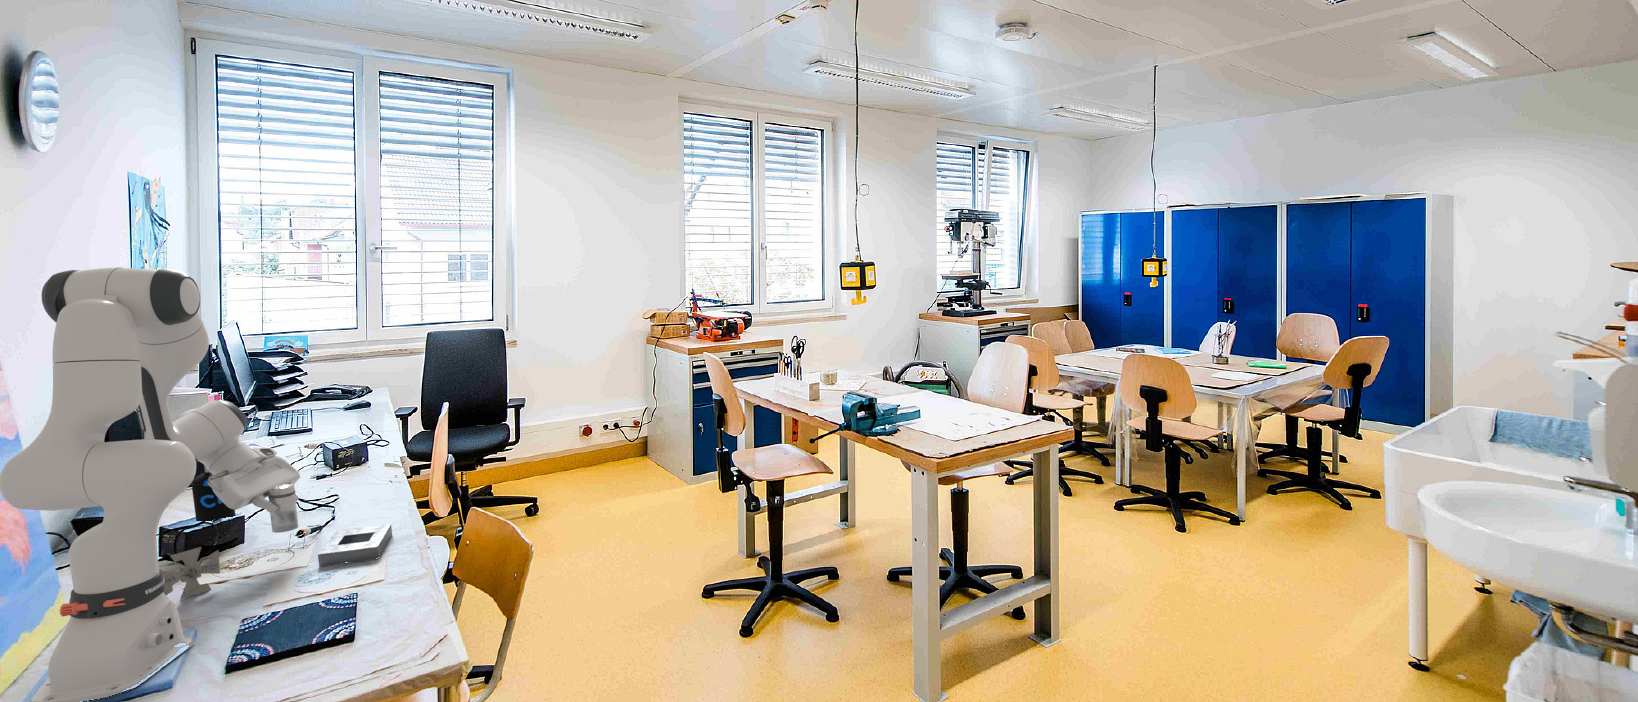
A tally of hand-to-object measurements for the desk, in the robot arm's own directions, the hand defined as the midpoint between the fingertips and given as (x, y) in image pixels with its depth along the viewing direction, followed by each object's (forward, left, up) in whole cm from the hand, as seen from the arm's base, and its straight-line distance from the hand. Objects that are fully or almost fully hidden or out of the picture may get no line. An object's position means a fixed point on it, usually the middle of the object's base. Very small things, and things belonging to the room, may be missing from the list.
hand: (285, 506), depth 173 cm
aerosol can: (+22, +22, -13) cm, 33 cm away
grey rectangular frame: (+1, -13, -13) cm, 19 cm away
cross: (-14, +14, -13) cm, 24 cm away
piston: (0, +1, -5) cm, 5 cm away
